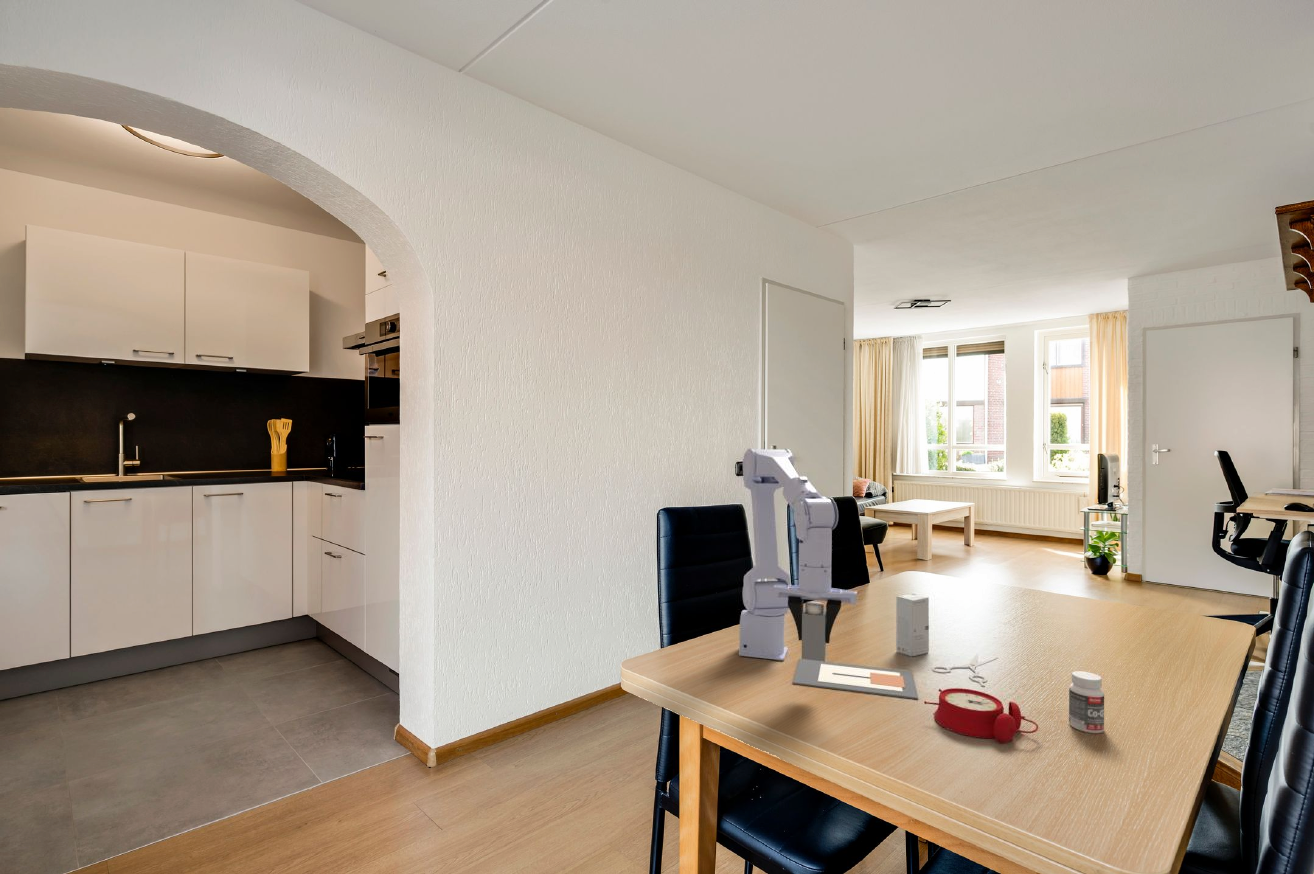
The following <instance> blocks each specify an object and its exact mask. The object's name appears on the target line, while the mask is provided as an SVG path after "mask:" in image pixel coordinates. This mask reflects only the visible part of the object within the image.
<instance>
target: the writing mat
mask: <svg viewBox="0 0 1314 874" xmlns="http://www.w3.org/2000/svg"><path fill="white" fill-rule="evenodd" d="M792 685H798V686H807V687H814V688H824V689H831V690H839V691H848V692H855V693H863V694H871V695H879V696H888V697H897V698H904V699H911V700H919V695H918V691H917V687H916V681H915V677H914V673H913V671H912V670H902V669H893V668H886V667H874V666H869V665H868V666H866V665H857V664H851V663H850V664H849V663H841V662H831V661H825V662H824V661H815V660H807V659H802V658H799V659H798V662H797V666H796V670H795V673H794V676H793V679H792Z"/></svg>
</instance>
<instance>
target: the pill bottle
mask: <svg viewBox="0 0 1314 874" xmlns="http://www.w3.org/2000/svg"><path fill="white" fill-rule="evenodd" d="M1102 683H1103V682H1102V677H1101V676H1100V675H1098V674H1095V673H1092V672H1088V671H1083V670H1081V671H1080V670H1077V671H1073V672H1072V673H1071V684H1069V688H1068V689H1069V690H1068V693H1069V694H1068V723H1069V725H1070V726H1071V727H1072V728H1074V729H1076V730H1078V731H1081V732H1084V733H1088V734H1100V733H1103V732H1104V730H1105V692H1104V690H1103V689H1102V686H1103V684H1102Z"/></svg>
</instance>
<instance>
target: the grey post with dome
mask: <svg viewBox="0 0 1314 874" xmlns="http://www.w3.org/2000/svg"><path fill="white" fill-rule="evenodd" d="M804 606H805V607H804V608H803V613H802V641H801V659H806V660H815V661H824V662H826V656H827V643H825V633H826V609H825V608H824V607H825V606H824V603H823V602H819V601H806V602H805V605H804Z"/></svg>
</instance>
